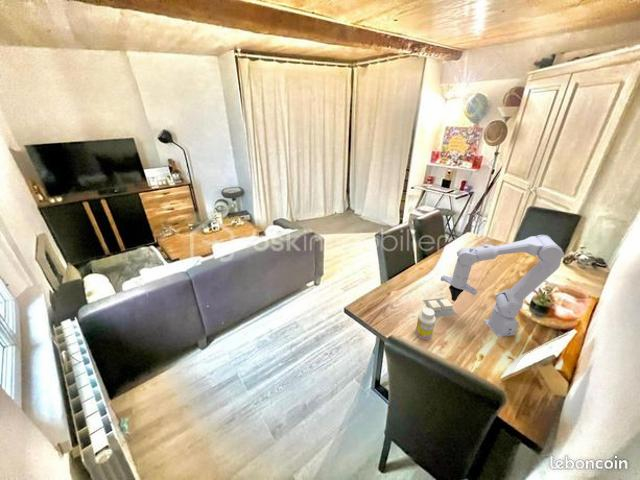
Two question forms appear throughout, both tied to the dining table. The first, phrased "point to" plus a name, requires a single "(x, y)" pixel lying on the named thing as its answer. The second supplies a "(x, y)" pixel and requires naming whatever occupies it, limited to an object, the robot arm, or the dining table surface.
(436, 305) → the slab
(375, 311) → the dining table surface
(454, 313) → the mat
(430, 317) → the supplement bottle
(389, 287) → the dining table surface
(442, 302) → the slab
